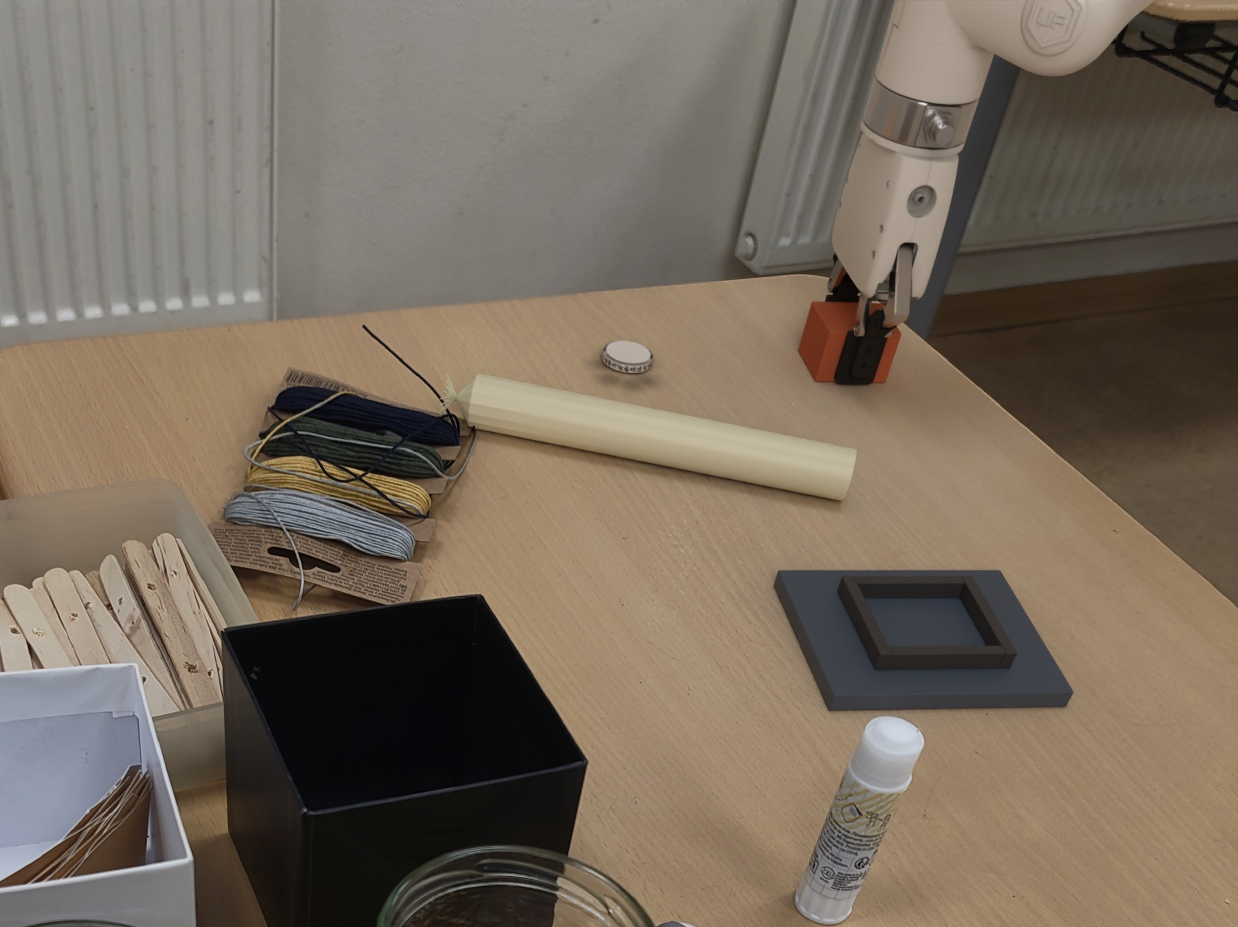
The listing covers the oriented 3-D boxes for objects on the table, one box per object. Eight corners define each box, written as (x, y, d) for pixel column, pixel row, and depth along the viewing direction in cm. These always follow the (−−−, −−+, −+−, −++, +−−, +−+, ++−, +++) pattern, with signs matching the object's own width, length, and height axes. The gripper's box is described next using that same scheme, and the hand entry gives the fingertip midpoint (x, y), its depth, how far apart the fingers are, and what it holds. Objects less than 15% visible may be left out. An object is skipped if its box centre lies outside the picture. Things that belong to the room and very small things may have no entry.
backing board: (993, 584, 100) (1007, 554, 98) (1066, 707, 92) (1082, 676, 90) (773, 585, 97) (782, 554, 96) (828, 711, 90) (840, 679, 88)
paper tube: (444, 406, 108) (449, 357, 105) (842, 485, 106) (858, 438, 103) (434, 430, 105) (438, 381, 103) (840, 512, 104) (856, 464, 101)
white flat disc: (597, 366, 113) (599, 358, 113) (606, 343, 116) (608, 335, 115) (647, 377, 113) (649, 369, 113) (655, 353, 115) (657, 345, 115)
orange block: (866, 352, 119) (882, 303, 116) (885, 383, 116) (902, 334, 113) (797, 350, 118) (811, 301, 115) (814, 381, 115) (829, 332, 112)
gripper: (1010, 167, 98) (919, 420, 113) (928, 70, 109) (854, 314, 123) (907, 162, 97) (828, 419, 111) (833, 65, 107) (770, 311, 122)
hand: (842, 361), depth 117 cm, fingers closed on orange block, 5 cm apart
